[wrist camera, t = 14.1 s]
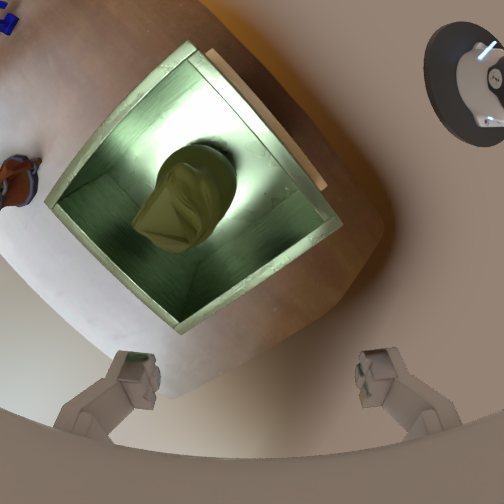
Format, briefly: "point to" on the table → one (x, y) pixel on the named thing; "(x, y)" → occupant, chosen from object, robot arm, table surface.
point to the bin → (144, 181)
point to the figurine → (7, 21)
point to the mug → (18, 181)
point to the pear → (187, 198)
